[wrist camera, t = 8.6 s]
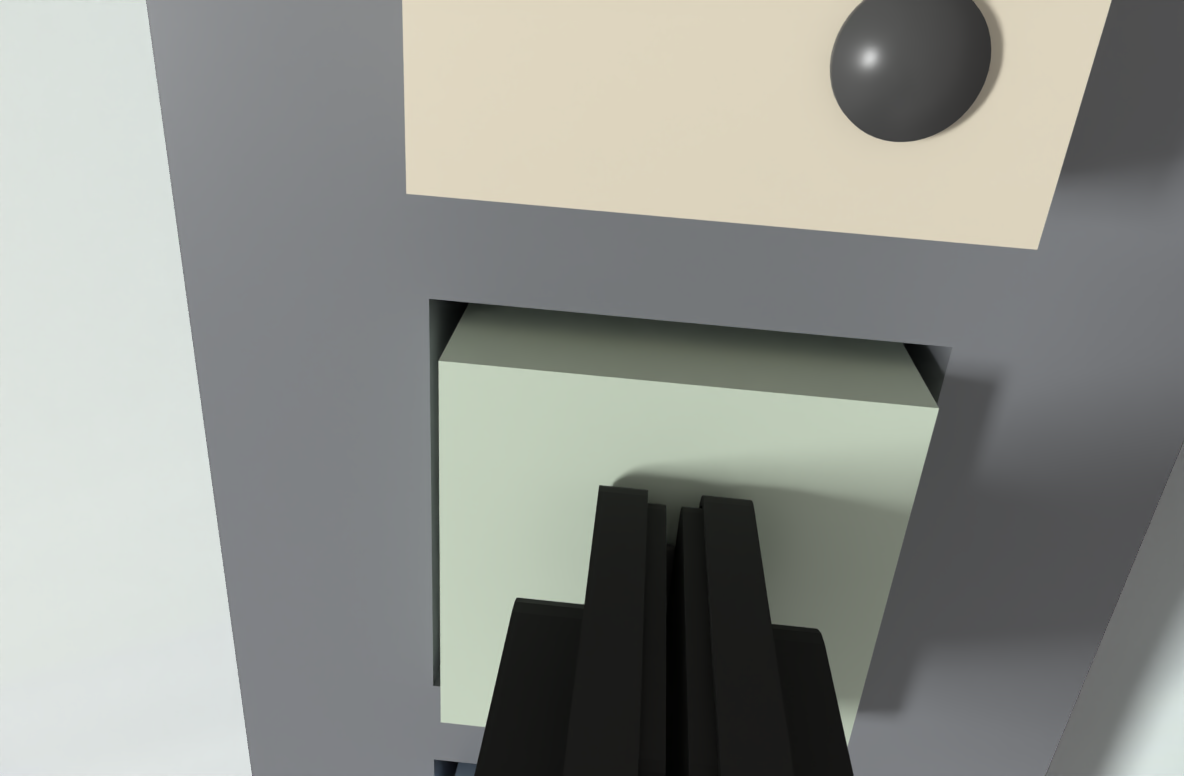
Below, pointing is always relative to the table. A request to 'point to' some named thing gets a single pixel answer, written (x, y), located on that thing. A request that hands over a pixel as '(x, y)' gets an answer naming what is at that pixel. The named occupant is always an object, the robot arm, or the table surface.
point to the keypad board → (660, 292)
